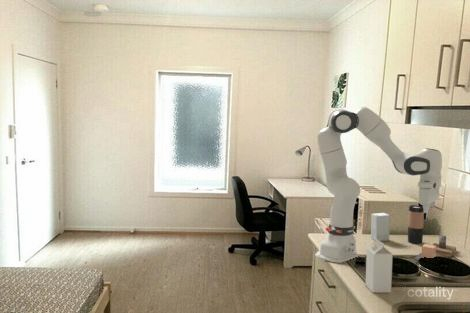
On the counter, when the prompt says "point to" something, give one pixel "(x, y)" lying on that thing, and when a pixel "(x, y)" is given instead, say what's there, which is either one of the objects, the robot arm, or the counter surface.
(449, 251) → the post stand
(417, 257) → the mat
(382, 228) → the skincare box
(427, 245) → the cap
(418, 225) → the travel mug
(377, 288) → the milk carton
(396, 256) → the counter surface
